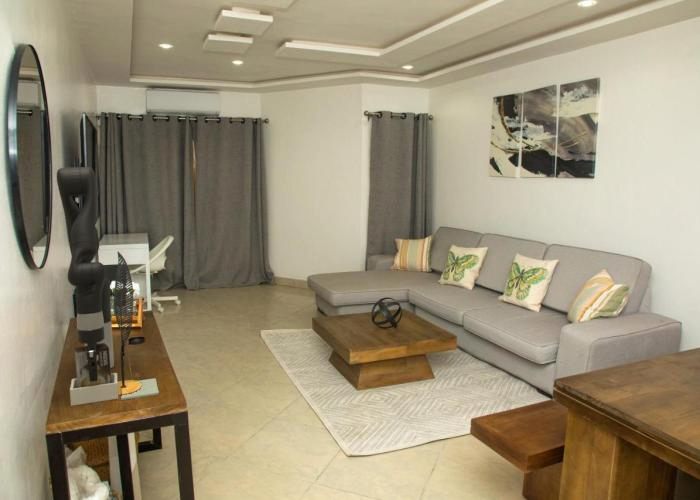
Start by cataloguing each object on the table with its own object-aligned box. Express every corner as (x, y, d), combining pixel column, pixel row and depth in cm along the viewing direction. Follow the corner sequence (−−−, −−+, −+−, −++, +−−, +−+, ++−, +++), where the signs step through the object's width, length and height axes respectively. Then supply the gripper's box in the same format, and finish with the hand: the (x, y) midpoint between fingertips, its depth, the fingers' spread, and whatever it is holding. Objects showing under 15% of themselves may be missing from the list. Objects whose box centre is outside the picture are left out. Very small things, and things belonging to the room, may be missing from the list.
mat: (120, 385, 178) (120, 383, 178) (155, 379, 183) (155, 378, 183) (121, 400, 166) (121, 398, 166) (158, 394, 170) (158, 392, 170)
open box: (73, 393, 171) (72, 378, 170) (117, 387, 176) (116, 372, 176) (70, 405, 162) (69, 390, 161) (118, 398, 167) (117, 383, 166)
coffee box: (108, 389, 174) (105, 342, 172) (113, 395, 169) (110, 346, 167) (77, 396, 169) (74, 347, 167) (81, 403, 164) (77, 352, 162)
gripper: (78, 322, 171) (81, 371, 173) (75, 333, 158) (79, 386, 160) (104, 319, 174) (107, 368, 176) (103, 330, 161) (107, 382, 163)
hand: (94, 376), depth 168 cm, fingers closed on coffee box, 7 cm apart
